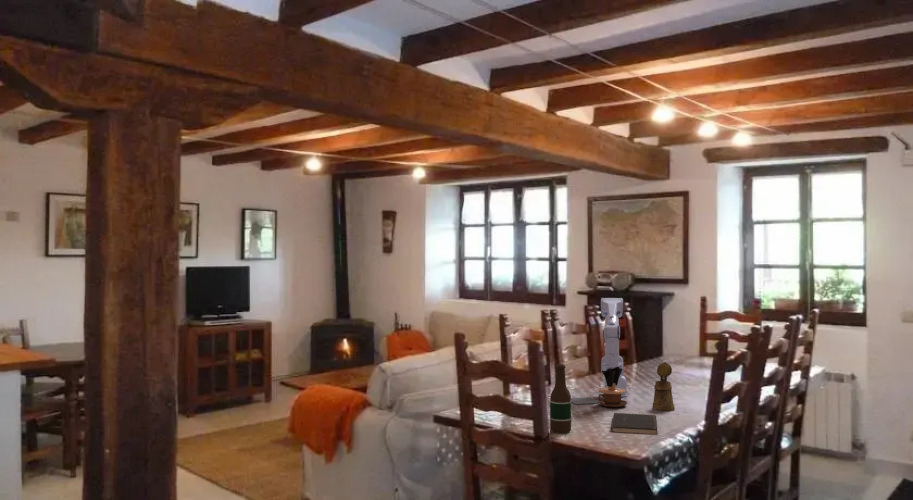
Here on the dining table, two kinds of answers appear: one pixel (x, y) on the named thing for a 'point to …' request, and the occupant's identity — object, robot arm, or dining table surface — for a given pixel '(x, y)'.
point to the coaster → (583, 401)
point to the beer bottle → (560, 403)
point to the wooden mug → (663, 389)
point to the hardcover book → (634, 423)
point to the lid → (612, 390)
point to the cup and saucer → (611, 400)
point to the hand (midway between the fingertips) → (612, 385)
